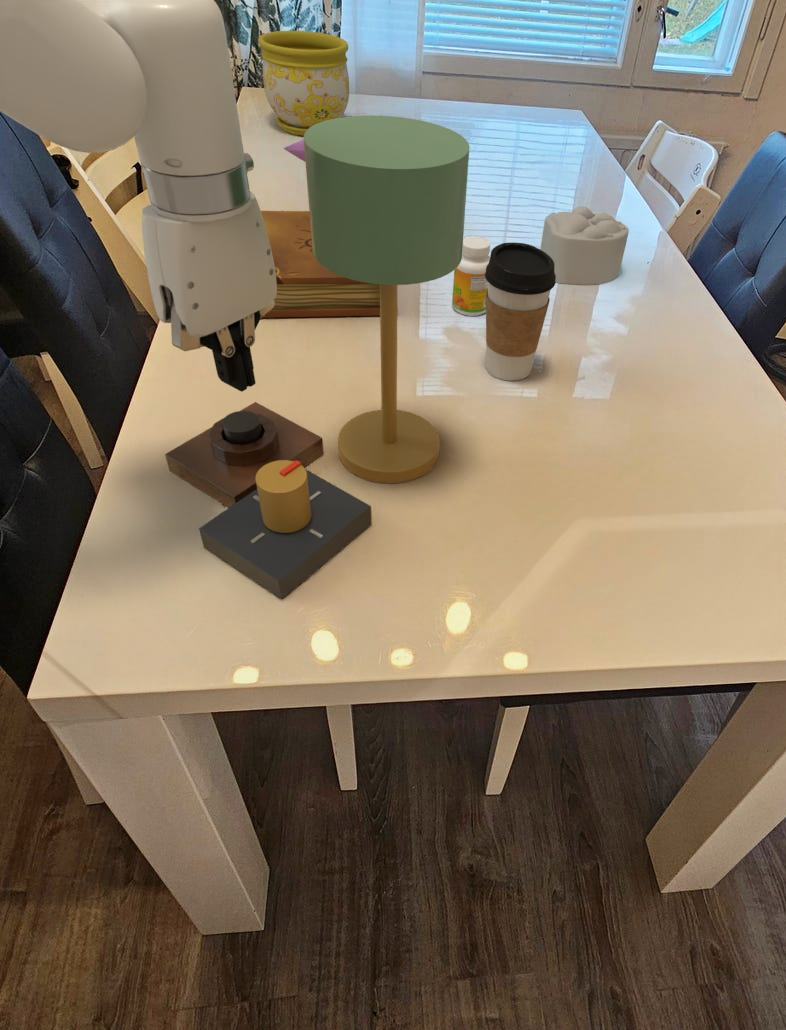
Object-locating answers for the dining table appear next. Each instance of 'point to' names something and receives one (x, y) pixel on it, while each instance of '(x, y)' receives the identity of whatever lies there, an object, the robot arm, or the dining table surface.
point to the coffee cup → (516, 307)
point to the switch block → (241, 455)
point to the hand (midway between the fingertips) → (238, 382)
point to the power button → (242, 427)
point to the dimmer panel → (286, 537)
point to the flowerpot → (304, 77)
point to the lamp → (387, 253)
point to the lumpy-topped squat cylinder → (584, 246)
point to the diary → (311, 274)
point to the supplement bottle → (471, 277)
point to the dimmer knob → (284, 496)
